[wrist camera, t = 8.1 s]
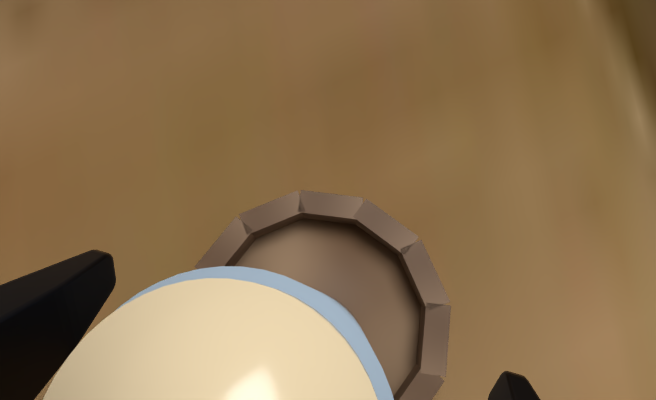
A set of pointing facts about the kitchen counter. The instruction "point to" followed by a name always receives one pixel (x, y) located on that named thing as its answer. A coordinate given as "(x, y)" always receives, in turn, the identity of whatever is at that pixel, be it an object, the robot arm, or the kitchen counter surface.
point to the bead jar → (224, 344)
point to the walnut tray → (353, 276)
